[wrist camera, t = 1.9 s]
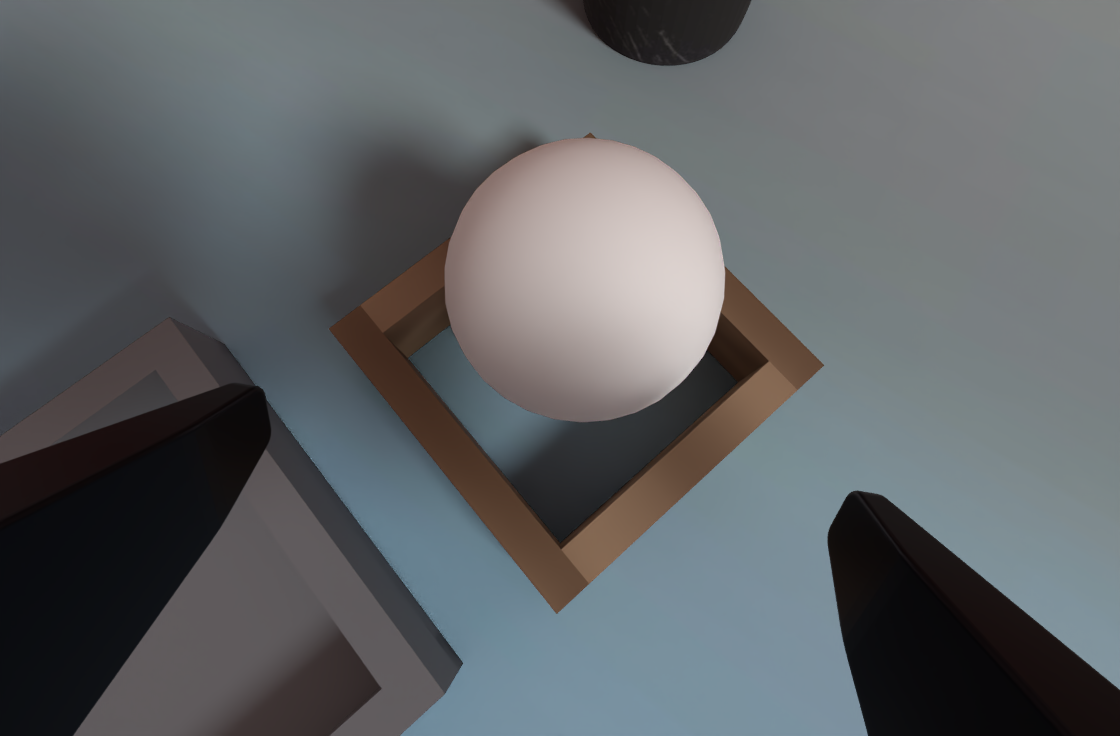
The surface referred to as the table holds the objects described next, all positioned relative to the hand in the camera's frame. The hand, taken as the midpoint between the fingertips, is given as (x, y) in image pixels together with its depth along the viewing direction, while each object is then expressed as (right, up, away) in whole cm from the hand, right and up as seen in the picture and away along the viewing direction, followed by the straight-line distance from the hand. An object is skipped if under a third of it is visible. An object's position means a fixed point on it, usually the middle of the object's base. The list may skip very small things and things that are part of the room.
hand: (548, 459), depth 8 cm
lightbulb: (+1, +1, +12) cm, 12 cm away
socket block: (+1, +1, +12) cm, 12 cm away
